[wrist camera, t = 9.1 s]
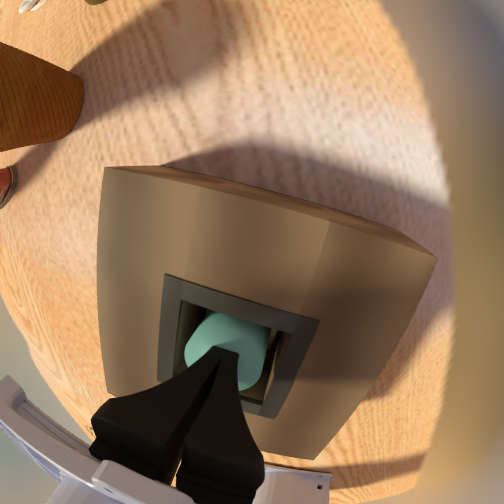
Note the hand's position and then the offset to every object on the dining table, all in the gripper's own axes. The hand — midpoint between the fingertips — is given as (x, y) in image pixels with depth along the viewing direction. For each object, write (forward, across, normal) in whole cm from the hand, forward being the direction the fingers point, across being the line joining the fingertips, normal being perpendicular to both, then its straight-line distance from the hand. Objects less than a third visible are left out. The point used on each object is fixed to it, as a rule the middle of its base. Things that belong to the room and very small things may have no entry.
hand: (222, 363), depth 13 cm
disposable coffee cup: (+6, +20, -12) cm, 24 cm away
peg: (+5, 0, 0) cm, 5 cm away
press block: (+6, 0, 0) cm, 6 cm away
